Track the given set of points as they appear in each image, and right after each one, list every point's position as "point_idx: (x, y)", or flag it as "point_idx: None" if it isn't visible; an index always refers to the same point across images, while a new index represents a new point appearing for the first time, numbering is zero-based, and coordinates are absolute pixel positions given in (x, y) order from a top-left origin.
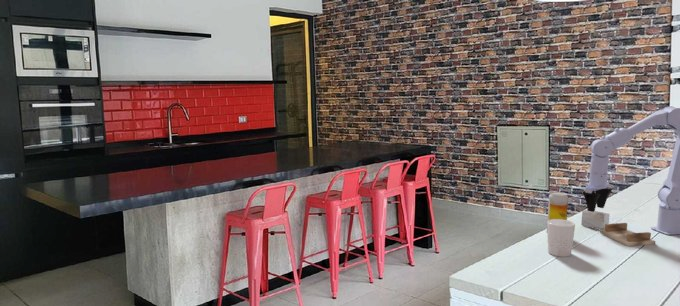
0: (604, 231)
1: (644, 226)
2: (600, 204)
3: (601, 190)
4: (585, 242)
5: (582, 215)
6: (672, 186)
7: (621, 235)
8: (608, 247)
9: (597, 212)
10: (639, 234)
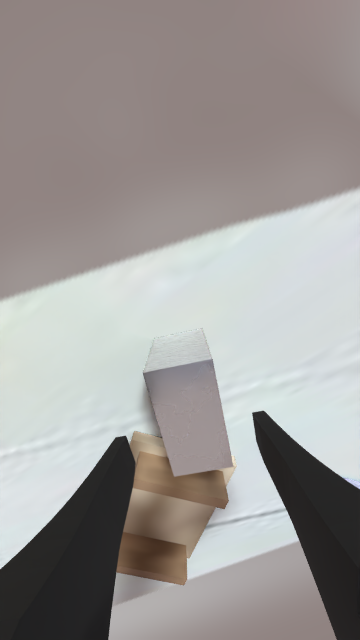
0: (133, 454)
1: (355, 452)
2: (264, 447)
3: (353, 625)
4: (3, 466)
5: (147, 362)
6: None
7: (147, 499)
8: (38, 514)
9: (202, 425)
10: (141, 573)
